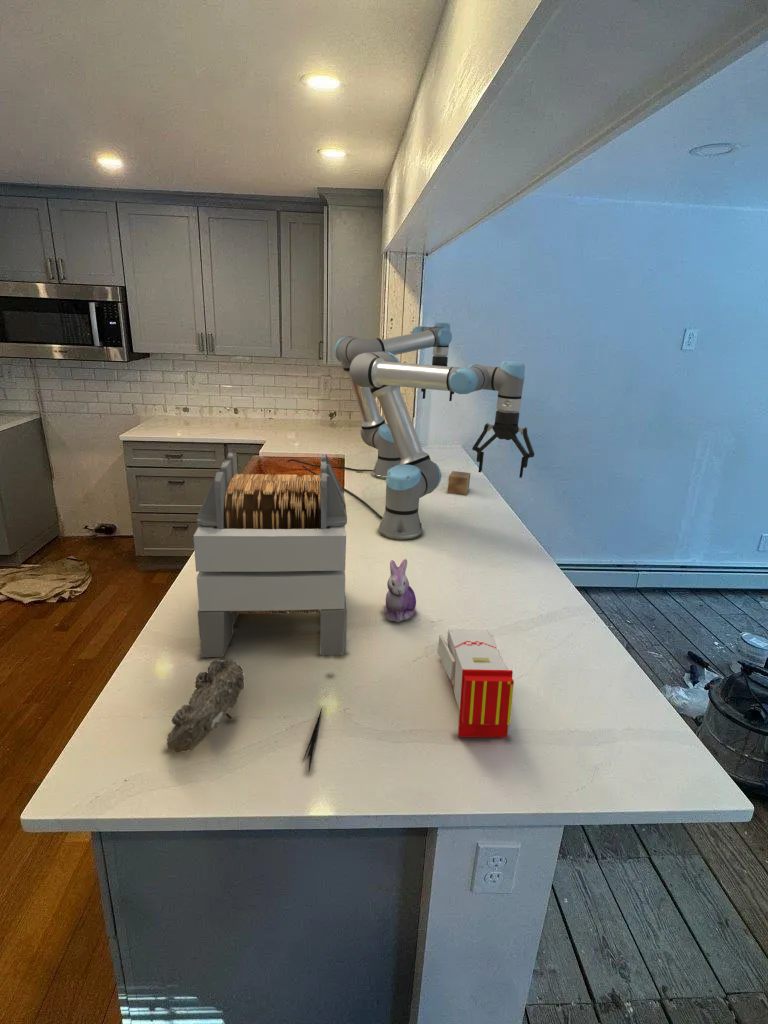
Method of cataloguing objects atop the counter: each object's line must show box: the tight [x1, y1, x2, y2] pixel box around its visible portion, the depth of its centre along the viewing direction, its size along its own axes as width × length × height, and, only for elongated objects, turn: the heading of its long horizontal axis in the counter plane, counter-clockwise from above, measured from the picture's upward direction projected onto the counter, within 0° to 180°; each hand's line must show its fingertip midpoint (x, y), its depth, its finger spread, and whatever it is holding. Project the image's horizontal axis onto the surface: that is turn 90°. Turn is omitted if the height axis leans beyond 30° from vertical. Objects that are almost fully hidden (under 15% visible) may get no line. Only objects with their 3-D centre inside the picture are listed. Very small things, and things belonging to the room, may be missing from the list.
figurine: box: [384, 558, 417, 623], centre depth 145 cm, size 9×10×15 cm
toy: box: [437, 628, 515, 738], centre depth 117 cm, size 12×13×30 cm
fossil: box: [166, 658, 245, 754], centre depth 106 cm, size 22×10×15 cm
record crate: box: [193, 452, 348, 659], centre depth 136 cm, size 34×33×41 cm
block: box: [447, 470, 471, 496], centre depth 249 cm, size 8×9×8 cm
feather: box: [301, 673, 332, 771], centre depth 108 cm, size 2×28×2 cm
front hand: (500, 474), depth 191 cm, fingers open, 13 cm apart
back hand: (437, 399), depth 285 cm, fingers open, 13 cm apart
